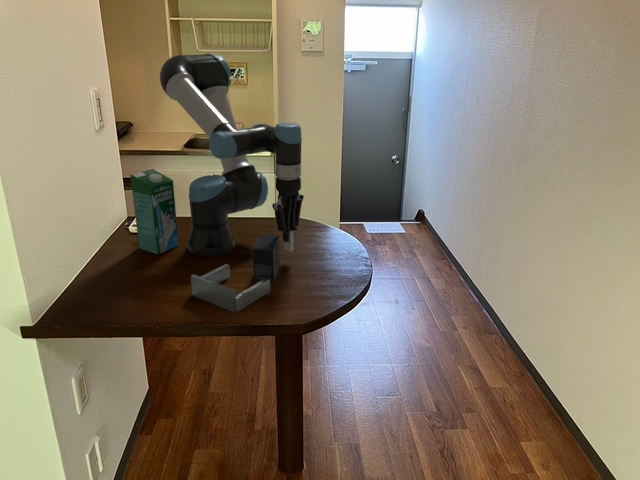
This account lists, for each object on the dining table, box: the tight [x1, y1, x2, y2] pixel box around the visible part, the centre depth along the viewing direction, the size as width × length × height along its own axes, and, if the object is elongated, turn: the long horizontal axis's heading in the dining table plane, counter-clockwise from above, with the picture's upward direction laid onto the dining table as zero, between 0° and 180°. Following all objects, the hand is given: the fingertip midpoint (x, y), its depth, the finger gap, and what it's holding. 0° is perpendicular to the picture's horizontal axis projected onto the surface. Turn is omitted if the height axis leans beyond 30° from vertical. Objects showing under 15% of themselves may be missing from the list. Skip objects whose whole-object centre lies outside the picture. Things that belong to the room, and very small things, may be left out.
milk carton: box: [129, 168, 180, 255], centre depth 170 cm, size 9×9×25 cm
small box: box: [252, 234, 281, 283], centre depth 156 cm, size 11×6×10 cm, turn 175°
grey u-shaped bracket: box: [190, 263, 271, 313], centre depth 145 cm, size 16×14×6 cm
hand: (288, 249), depth 165 cm, fingers closed
